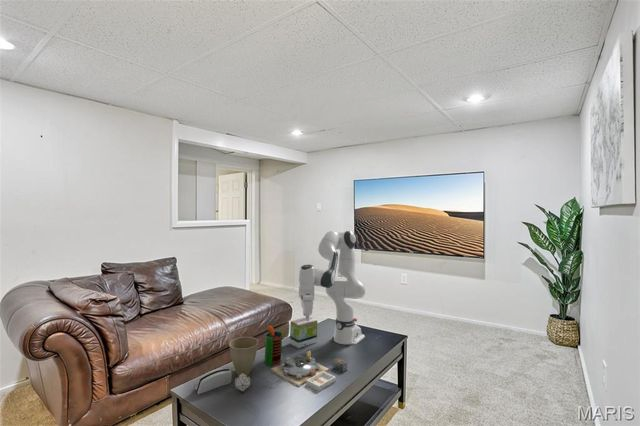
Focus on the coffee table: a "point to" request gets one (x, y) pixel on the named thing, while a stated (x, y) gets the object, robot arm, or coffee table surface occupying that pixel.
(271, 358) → the motor
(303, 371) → the sprocket
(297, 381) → the sprocket base
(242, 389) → the game die
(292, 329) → the tea box
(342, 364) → the gray banded block
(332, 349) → the coffee table surface
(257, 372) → the coffee table surface
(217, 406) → the coffee table surface
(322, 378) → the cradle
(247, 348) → the plant pot
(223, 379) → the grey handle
